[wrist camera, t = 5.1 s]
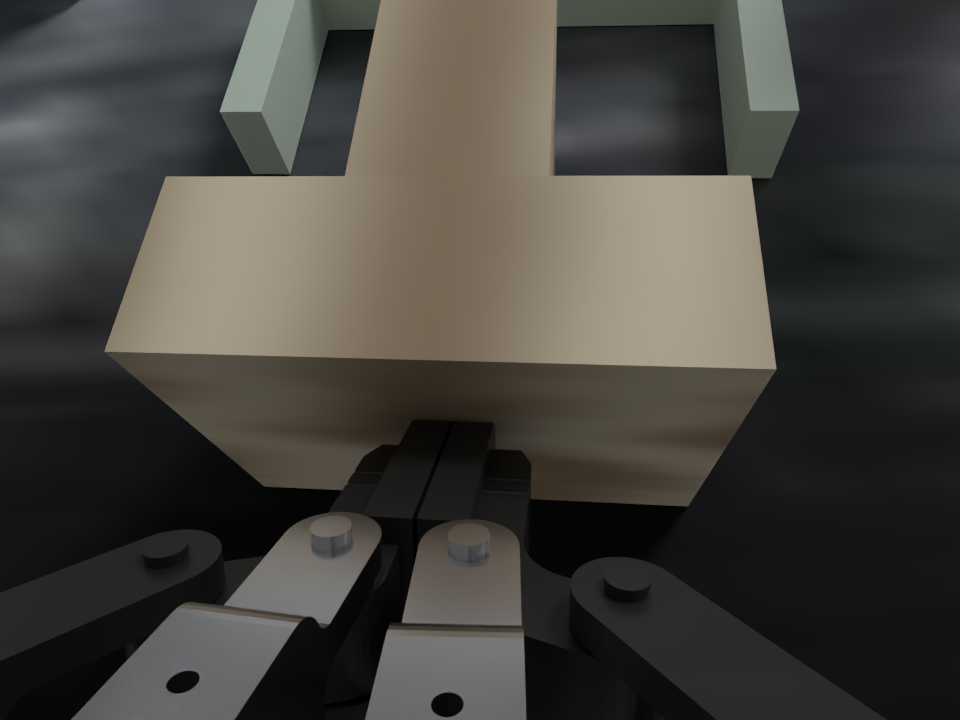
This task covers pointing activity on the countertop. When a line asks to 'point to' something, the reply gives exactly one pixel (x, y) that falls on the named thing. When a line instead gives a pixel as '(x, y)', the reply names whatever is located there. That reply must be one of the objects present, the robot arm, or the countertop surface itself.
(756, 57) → the pocket
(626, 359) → the tee block
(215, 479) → the countertop surface
